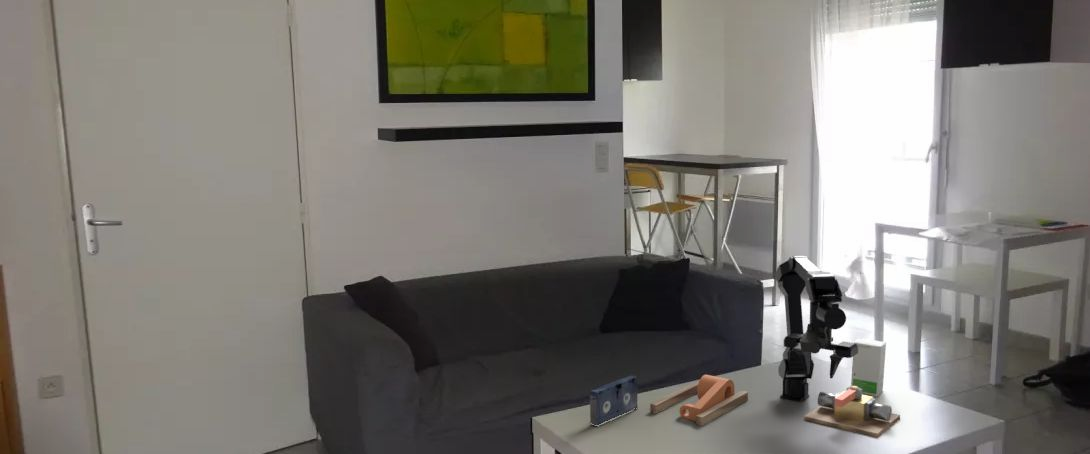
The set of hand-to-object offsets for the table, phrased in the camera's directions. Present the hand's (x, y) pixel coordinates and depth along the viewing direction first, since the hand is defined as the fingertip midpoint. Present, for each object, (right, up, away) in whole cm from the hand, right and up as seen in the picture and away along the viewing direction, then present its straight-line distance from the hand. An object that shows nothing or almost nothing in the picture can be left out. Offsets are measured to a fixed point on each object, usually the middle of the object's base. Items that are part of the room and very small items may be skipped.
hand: (819, 375), depth 224 cm
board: (+10, -13, +3) cm, 16 cm away
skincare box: (+23, -10, +25) cm, 35 cm away
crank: (-28, -12, +14) cm, 34 cm away
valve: (+11, -12, +4) cm, 17 cm away
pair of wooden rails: (-30, -12, +16) cm, 35 cm away
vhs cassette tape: (-55, -14, +8) cm, 57 cm away
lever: (+8, -7, 0) cm, 10 cm away
